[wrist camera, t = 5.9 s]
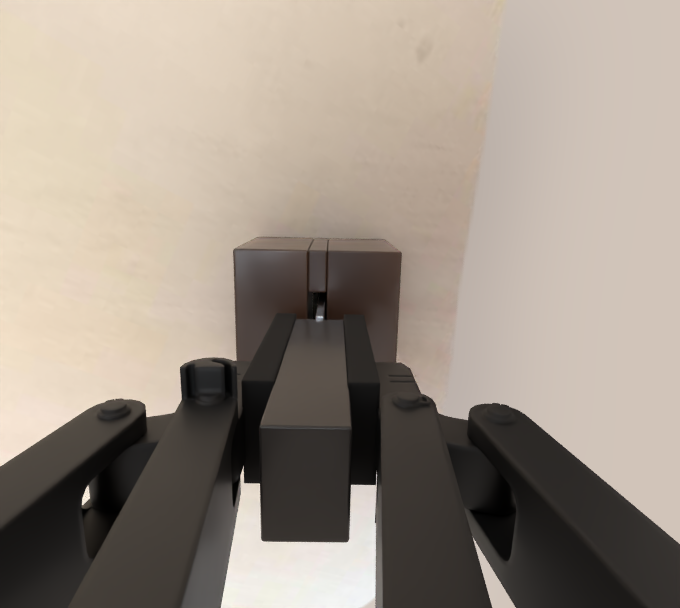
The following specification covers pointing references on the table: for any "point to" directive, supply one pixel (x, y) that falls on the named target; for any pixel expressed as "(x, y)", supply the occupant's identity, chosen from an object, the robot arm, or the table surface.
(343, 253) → the knife block
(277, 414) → the butter knife
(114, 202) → the table surface
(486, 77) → the table surface
